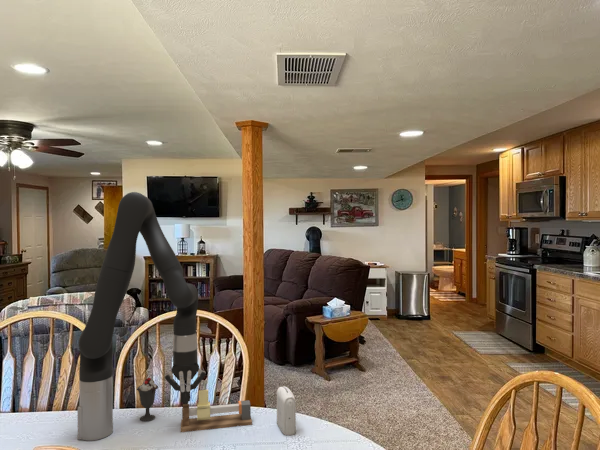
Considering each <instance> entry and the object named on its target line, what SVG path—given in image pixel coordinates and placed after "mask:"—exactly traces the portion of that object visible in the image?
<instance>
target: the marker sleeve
mask: <svg viewBox="0 0 600 450" xmlns="http://www.w3.org/2000/svg"><path fill="white" fill-rule="evenodd" d="M210 406H211V401H209V389H199V390H198V402H197V403H196V408H197V416H196V418H197V420H206V419H210V417H211V414H210Z"/></svg>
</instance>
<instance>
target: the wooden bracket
mask: <svg viewBox="0 0 600 450" xmlns="http://www.w3.org/2000/svg"><path fill="white" fill-rule="evenodd" d="M189 408H190V403H187V404H183V403H182V409H181V411H182V412H181V413H182V414H181V416H182V417H181V418H182V419H181V422H180V433H185V432H186V433H187V432H188V433H189V432H197V431H205V430H215V429H223V428H224V429H225V428H233V427H235V428H236V427H245V426H252V425H253V419H252V418H251V419H250V420H242V419H241V414H239V413H232V414H223V415H221V414H220V415H213V416H211V415H210V419H206V420H197V417H194V418H190V416H189Z"/></svg>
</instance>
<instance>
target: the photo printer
mask: <svg viewBox="0 0 600 450" xmlns="http://www.w3.org/2000/svg"><path fill="white" fill-rule="evenodd" d="M296 403H297V402H296V398H295V395H294V393H293V392H292V391H291V389H290V388H289V387H287V386H284V385H283V386H279V387H278V388H277V390H276V424H277V425H278V428H279V429H280V431H281V433H282V434H283V435H285V436H293V435H295V434H296V423H297V421H296V418H297V417H296V414H297V412H296V411H297V409H296V408H297V406H296V405H297V404H296Z"/></svg>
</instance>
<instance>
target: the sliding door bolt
mask: <svg viewBox="0 0 600 450" xmlns="http://www.w3.org/2000/svg"><path fill="white" fill-rule="evenodd" d="M234 412H238V414H241V419H242V420H250V419H252V417H251V413H252V412H251V401H250V400H249V399H248V400H238V402H237V403H231V404H220V405H210V415H215V414H217V415H218V414H225V413H234ZM194 416H195V417H197V407H189V417H194Z"/></svg>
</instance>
